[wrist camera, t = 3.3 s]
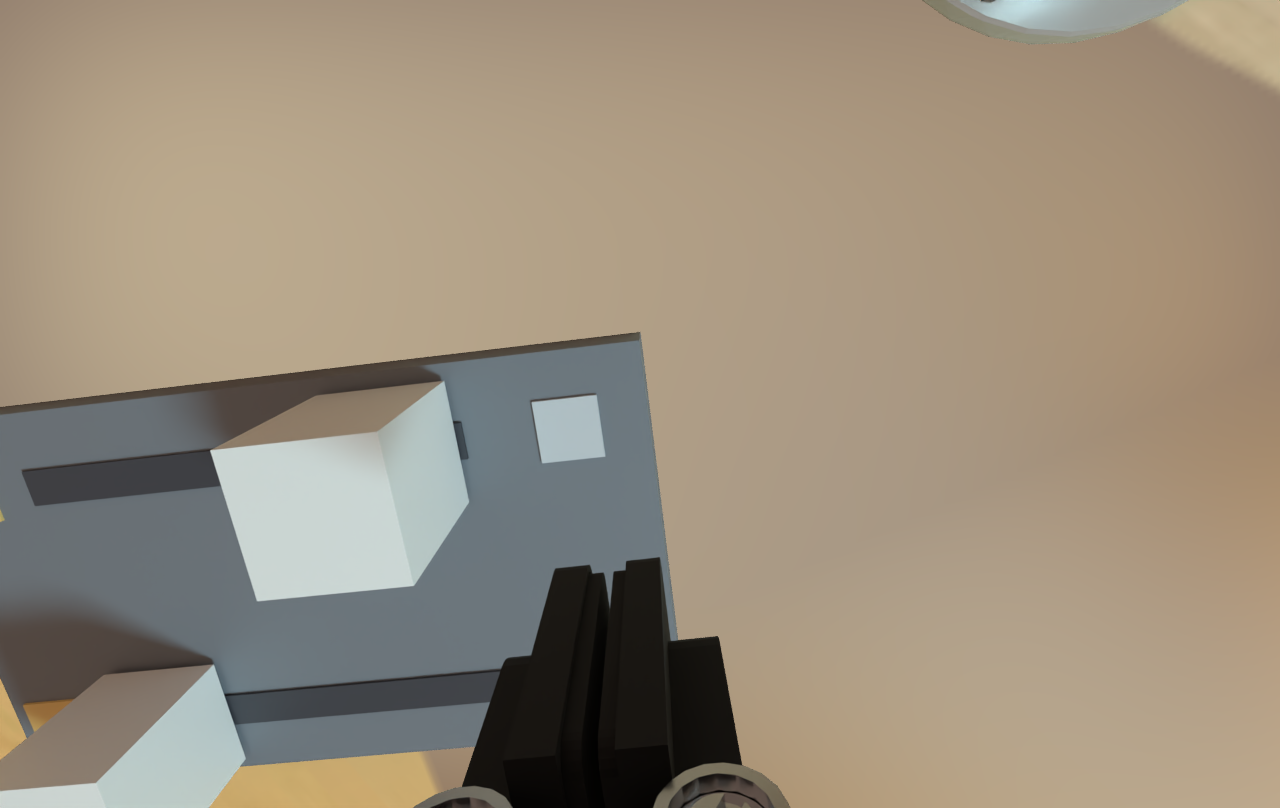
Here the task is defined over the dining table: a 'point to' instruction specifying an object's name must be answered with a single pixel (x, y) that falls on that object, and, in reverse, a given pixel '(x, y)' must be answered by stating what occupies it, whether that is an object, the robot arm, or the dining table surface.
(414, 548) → the tab near
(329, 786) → the dining table surface
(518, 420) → the switch panel
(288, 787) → the dining table surface
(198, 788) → the tab far
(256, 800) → the dining table surface
